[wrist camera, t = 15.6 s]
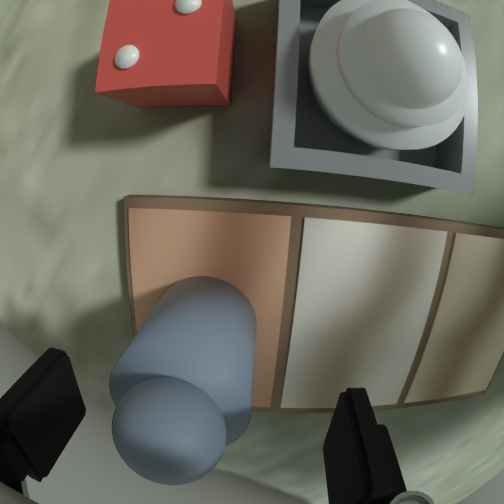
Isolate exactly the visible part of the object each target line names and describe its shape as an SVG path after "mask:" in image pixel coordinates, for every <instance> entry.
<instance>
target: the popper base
mask: <svg viewBox="0 0 504 504" xmlns="http://www.w3.org/2000/svg"><path fill="white" fill-rule="evenodd" d="M339 1H341V0H278V15H277V34H276V53H275V71H274V89H273V106H272V123H271V139H270V155H269V167H271V168H285V169H297V170H308V171H318V172H328V173H337V174H346V175H354V176H362V177H370V178H377V179H384V180H391V181H398V182H404V183H410V184H416V185H422V186H428V187H434V188H439V189H444V190H450V191H455V192H460V193H465V194H470V195H473V187H474V178H475V167H476V153H477V129H478V100H477V76H476V63H475V52H474V43H473V36H472V29H471V22H470V16H469V15H468V14H466V13H464V12H462V11H460V10H457V9H455V8H453V7H450V6H448V5H445V4H443V3H440V2H438V1H435V0H408V1H410V2H412V3H414V4H416V5H417V6H419V7H421V8H423V9H424V10H426V11H427V12H429V13H430V14H432V15H433V16H434V17H435V18H437V19H438V20H439V21H440V22H441V23H442V24H443V25H444V26H445V27H446V28H447V29H448V30H449V32H450V33H451V34H452V36H453V37H454V39H455V41H456V43H457V44H458V46H459V48H460V50H461V53H462V55H463V58H464V61H465V66H466V71H467V76H468V84H469V96H468V103H467V107H466V111H465V114H464V116H463V118H462V121H461V122H460V124H459V125H458V127H457V128H456V130H455V131H454V132H453V133H452V134H451V135H450V136H449V137H447V138H446V139H445V140H444V141H442V142H440V143H438V144H436V145H434V146H431V147H428V148H422V149H410V150H385V149H378V148H374V147H370V146H367V145H365V144H362V143H360V142H358V141H356V140H354V139H352V138H351V137H349V136H348V135H346V134H344V133H343V132H342V131H341V130H340V129H338V128H337V127H336V126H335V125H334V124H333V123H332V122H331V121H330V120H329V119H328V118H327V116H326V115H325V114H324V113H323V111H322V110H321V108H320V107H319V105H318V103H317V102H316V100H315V98H314V95H313V93H312V91H311V87H310V84H309V81H308V75H307V55H308V50H309V47H310V44H311V41H312V39H313V37H314V34H315V32H316V29H317V27H318V25H319V23H320V21H321V19H322V18H323V16H324V15H325V13H326V12H327V11H328V10H329V9H330V8H331V7H332V6H333V5H335V4H336V3H338V2H339Z"/></svg>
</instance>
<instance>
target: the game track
mask: <svg viewBox="0 0 504 504" xmlns="http://www.w3.org/2000/svg"><path fill="white" fill-rule="evenodd" d="M124 231H125V252H126V267H127V280H128V292H129V302H130V311H131V320H132V328H133V336H135V335H136V333H137V332H138V330H139V329H140V328H141V326H142V325H143V323H144V322H145V320H146V319H147V317H148V316H149V315H150V313H151V312H152V310H153V309H154V307H155V306H156V304H157V303H158V302H159V300H160V299H161V297H162V296H163V295H164V293H165V292H166V291H167V290H168V289H169V288H170V287H171V286H172V285H173V284H175V283H176V282H178V281H180V280H183V279H185V278H189V277H194V276H209V277H214V278H218V279H221V280H223V281H226V282H228V283H230V284H231V285H233V286H235V287H236V288H237V289H239V290H240V291H241V292H242V293H243V294H244V295H245V296H246V298H247V299H248V300H249V302H250V303H251V305H252V307H253V310H254V312H255V316H256V323H257V324H256V343H255V359H254V375H253V391H252V407H251V411H266V412H334V411H335V408H336V405H337V402H338V398H339V395H340V393H341V392H345V391H346V389H347V388H362V387H364V388H365V389H366V391H367V394H368V397H369V400H370V403H371V406H372V409H373V410H380V409H391V408H401V407H410V406H418V405H425V404H432V403H438V402H444V401H450V400H456V399H461V398H466V397H471V396H476V395H481V394H485V392H486V390H487V388H488V386H489V384H490V382H491V380H492V378H493V376H494V374H495V372H496V370H497V368H498V366H499V363H500V361H501V359H502V357H503V354H504V228H499V227H493V226H487V225H481V224H474V223H468V222H462V221H455V220H448V219H441V218H434V217H426V216H419V215H411V214H403V213H395V212H386V211H377V210H368V209H359V208H349V207H339V206H328V205H317V204H306V203H293V202H280V201H266V200H250V199H233V198H214V197H191V196H161V195H128V196H125V197H124Z"/></svg>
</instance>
